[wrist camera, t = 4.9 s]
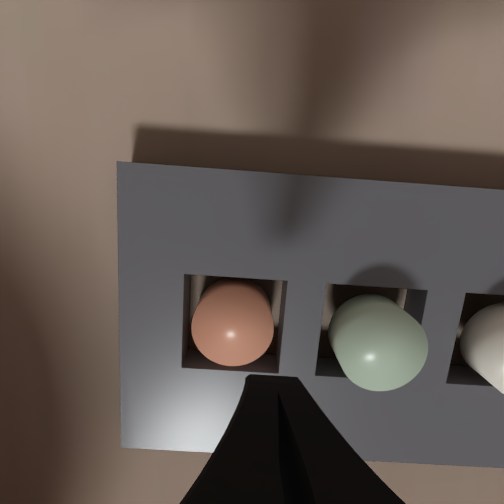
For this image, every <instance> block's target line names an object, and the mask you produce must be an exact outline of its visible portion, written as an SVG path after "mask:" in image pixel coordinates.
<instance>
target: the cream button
mask: <svg viewBox="0 0 504 504" xmlns="http://www.w3.org/2000/svg"><path fill="white" fill-rule="evenodd" d="M460 351H461V354H462V356H463V359H464V360H465V361H466V363H467V364H468V365H469V366H470V367H472V368H473V369H474V370H475V371H476V372H477V373H479V374H480V375H481V376H482V377H483V378H485V379H486V380H487V381H488V382H489V383H491V384H492V385H493V386H494V387H495V388H496V389H498V390H499V391H500V392H501V393H503V394H504V303H497V304H492V305H490V306H487V307H485V308H483V309H481V310H480V311H478V312H477V313H476V314H474V315H473V316H472V317H471V318H470V319H469V321H468V322H467V323H466V325H465V327H464V328H463V331H462V333H461V337H460Z"/></svg>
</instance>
